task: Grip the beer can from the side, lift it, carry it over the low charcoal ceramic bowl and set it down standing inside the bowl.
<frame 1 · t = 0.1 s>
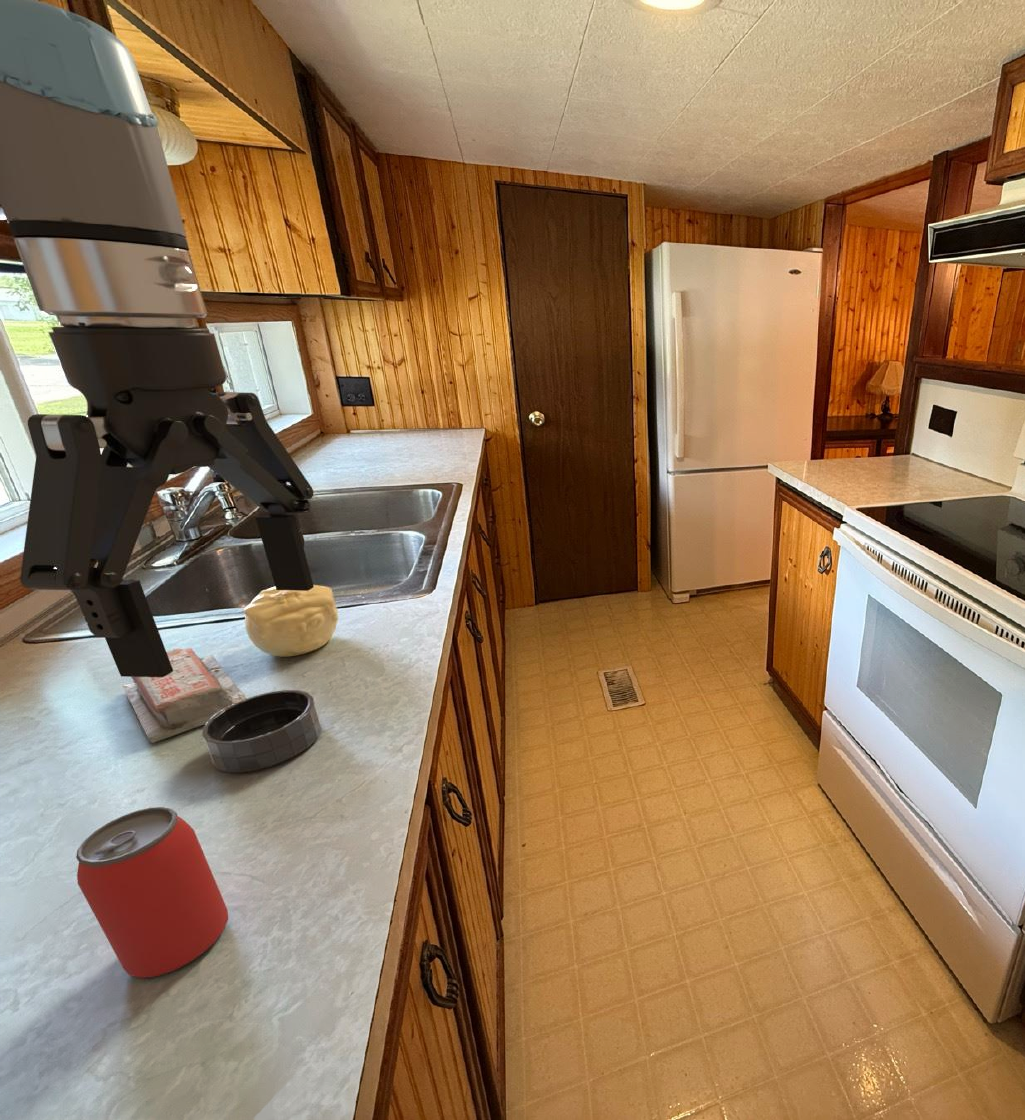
hand: (231, 625, 45), 27 cm above the worktop, tool pointing down, fingers open, 13 cm apart
bowl: (270, 745, 73), on the worktop
beer can: (181, 944, 50), on the worktop
packaged product: (187, 702, 82), on the worktop
sculpture: (300, 647, 96), on the worktop
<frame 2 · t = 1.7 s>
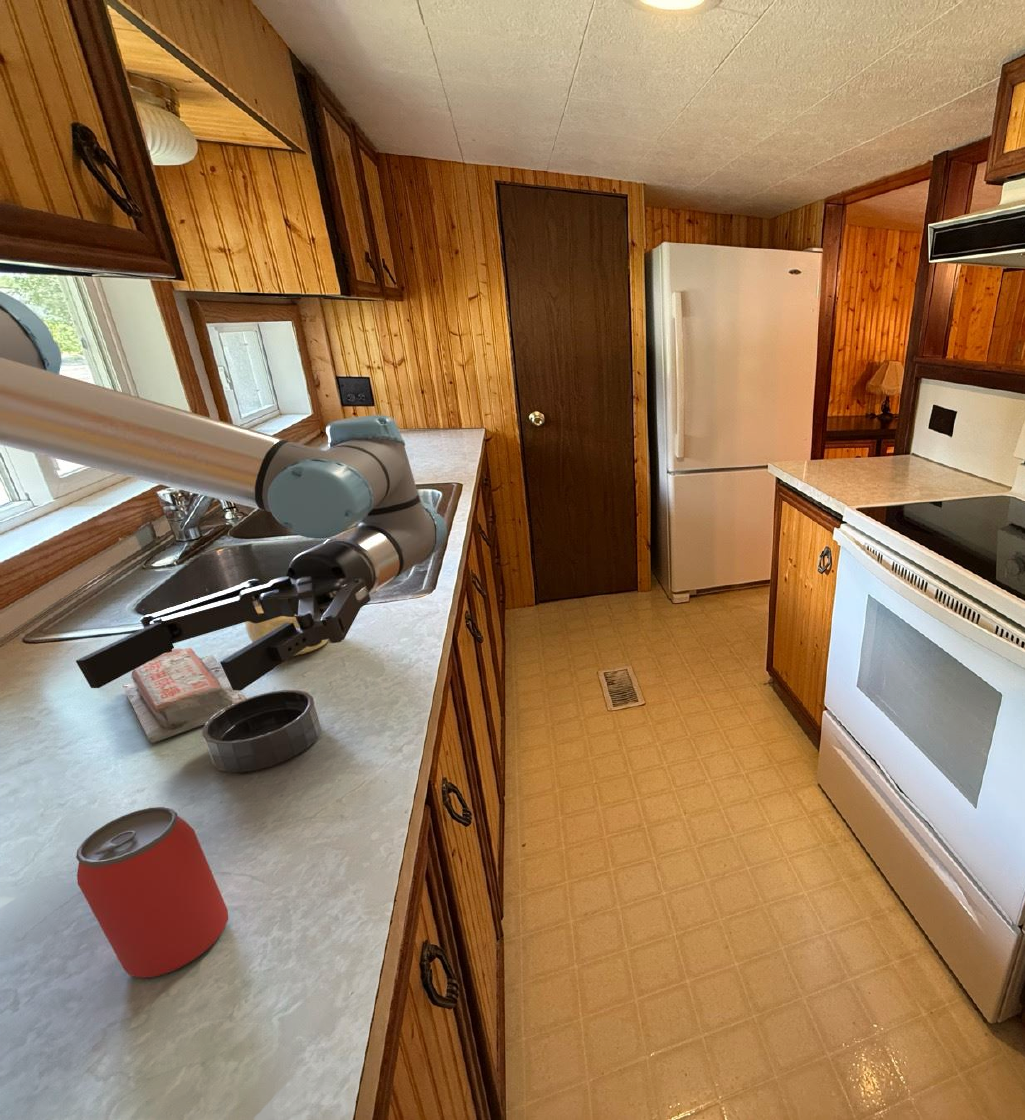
hand: (157, 675, 49), 21 cm above the worktop, tool horizontal, fingers open, 13 cm apart
nothing on the worktop moved.
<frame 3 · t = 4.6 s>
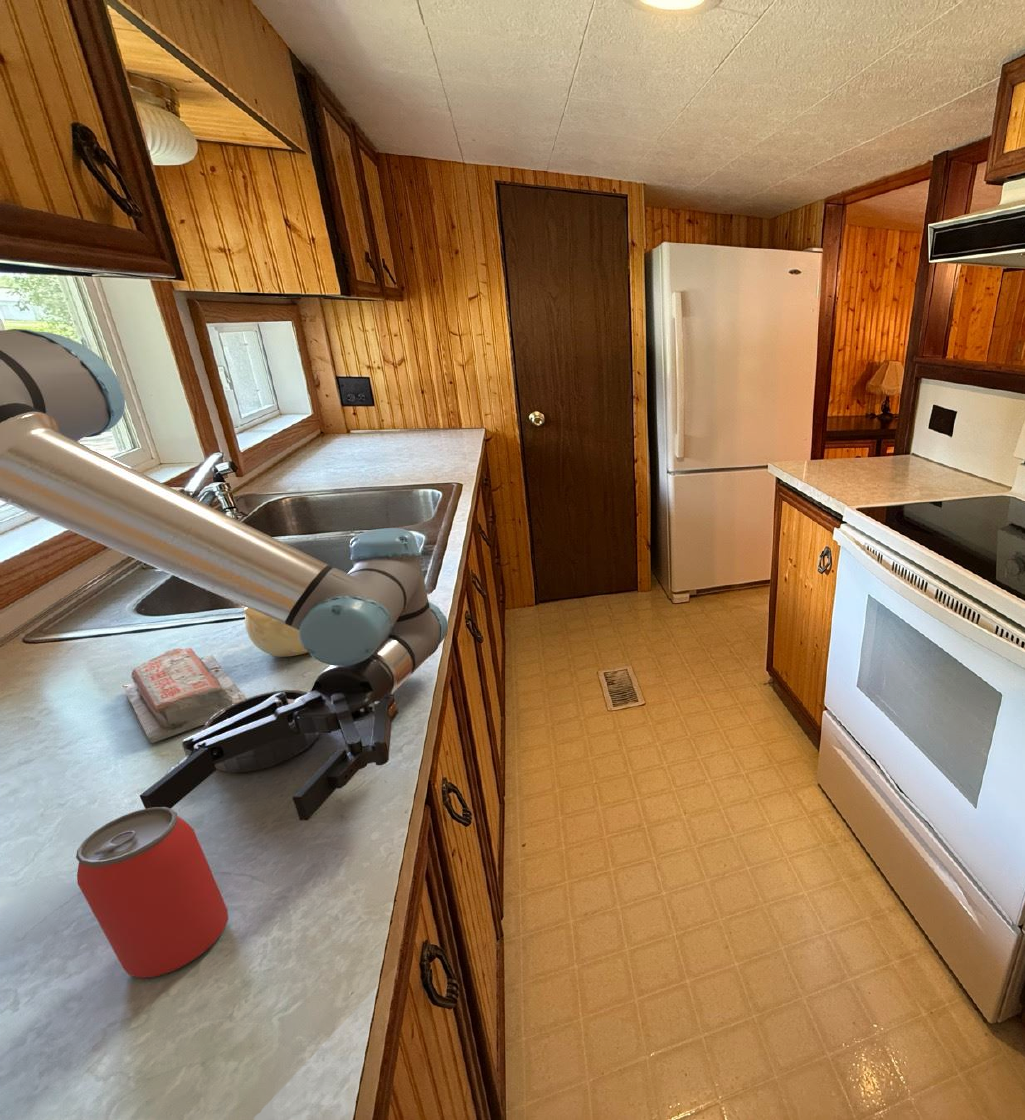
hand: (224, 808, 54), 7 cm above the worktop, tool horizontal, fingers open, 13 cm apart
nothing on the worktop moved.
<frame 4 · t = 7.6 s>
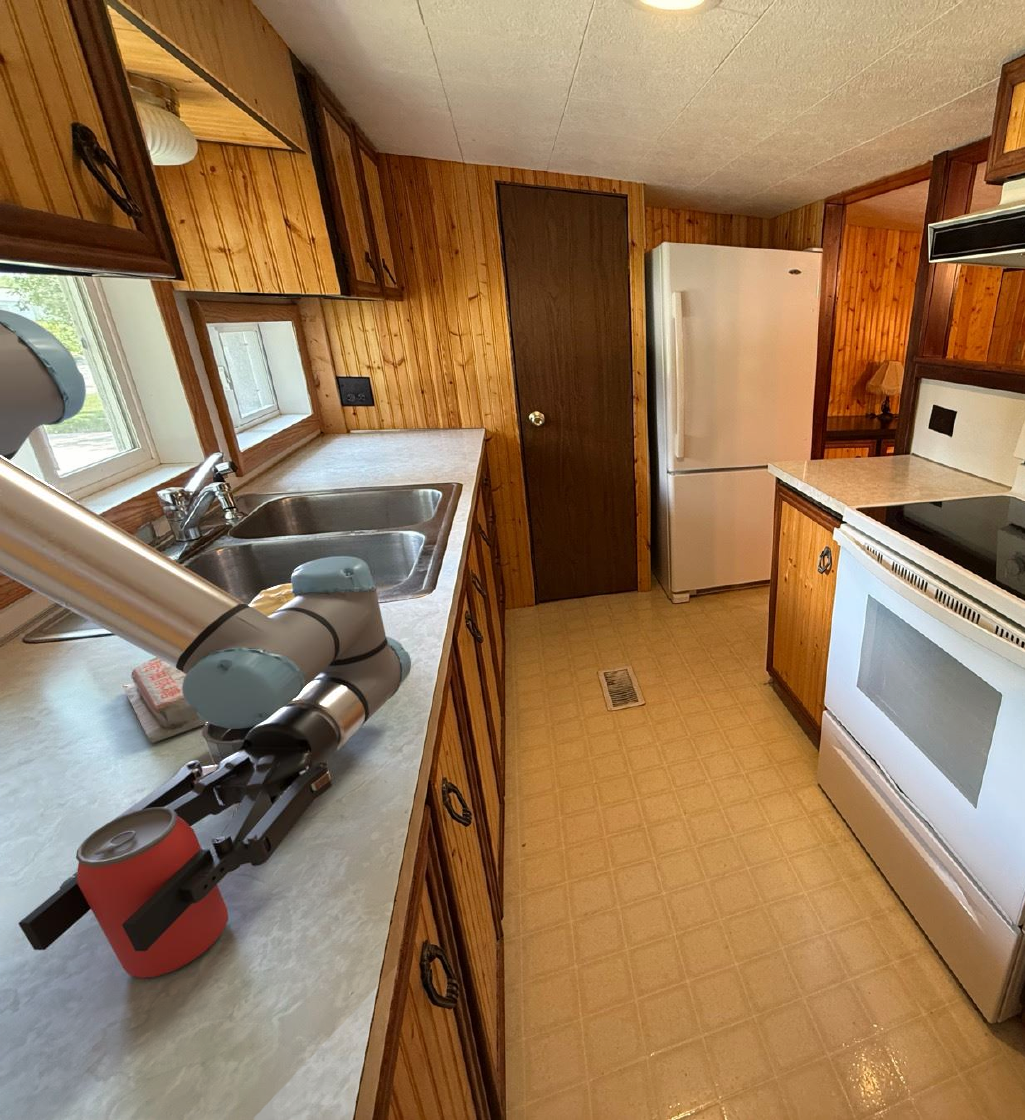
hand: (83, 937, 43), 8 cm above the worktop, tool horizontal, fingers closed on beer can, 7 cm apart
beer can: (181, 944, 50), on the worktop, touching gripper
everything else where it was.
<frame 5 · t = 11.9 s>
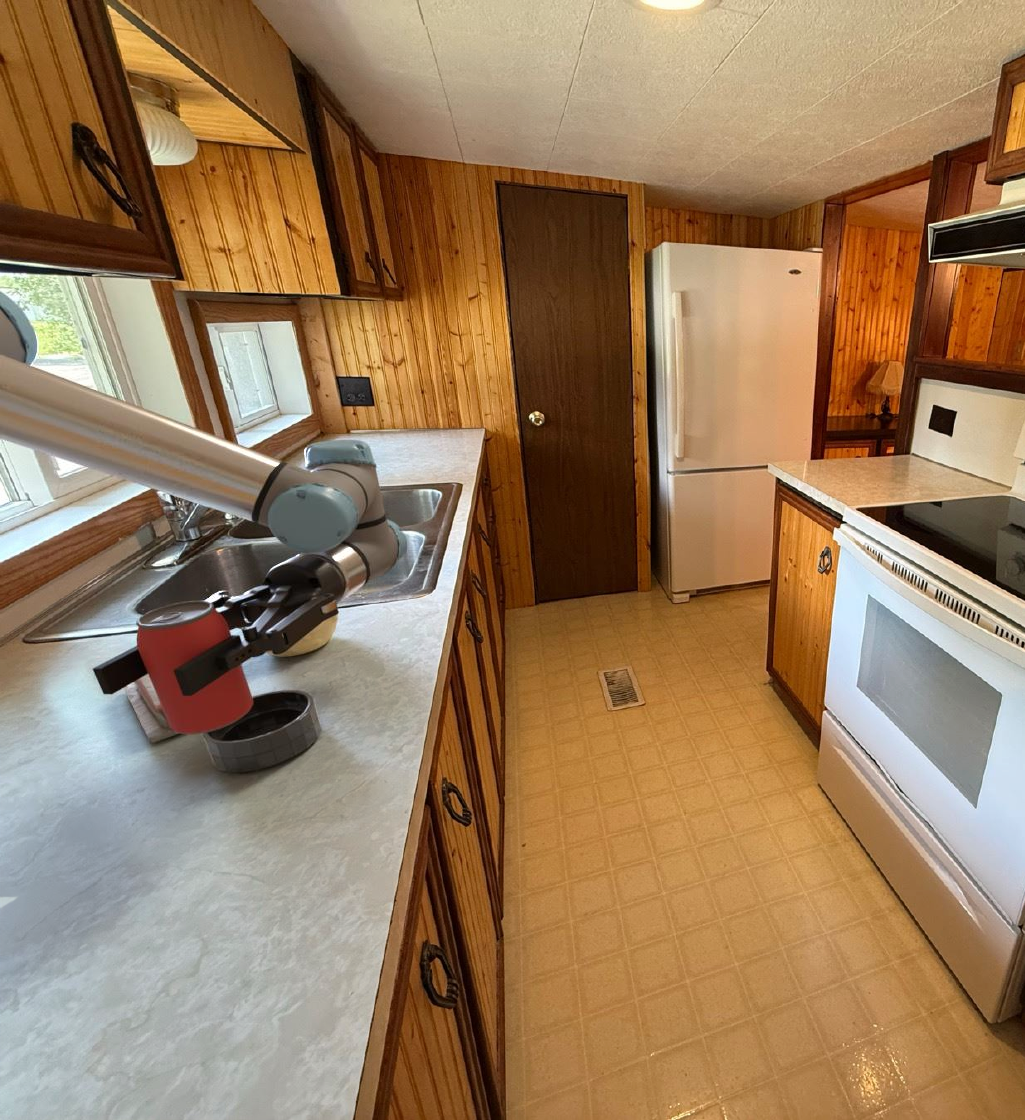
hand: (142, 682, 54), 18 cm above the worktop, tool horizontal, fingers closed on beer can, 7 cm apart
beer can: (215, 719, 62), point 10 cm above the worktop, touching gripper
everything else where it was.
when the fingers open (8 cm above the worktop, at t = 16.3 s): beer can stays where it is, resting on bowl.
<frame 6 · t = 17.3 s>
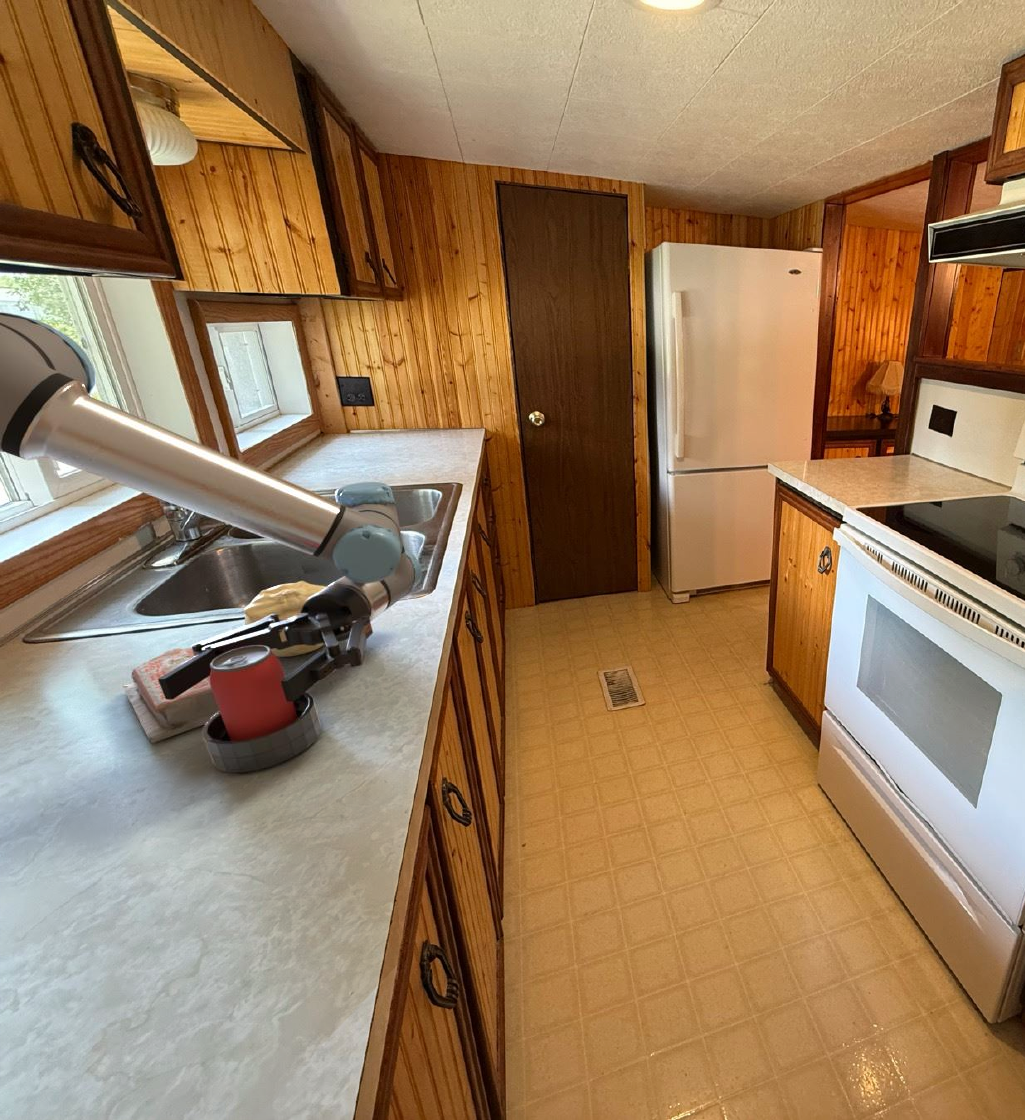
hand: (225, 690, 67), 10 cm above the worktop, tool horizontal, fingers open, 13 cm apart
beer can: (270, 743, 73), resting on bowl
everything else where it was.
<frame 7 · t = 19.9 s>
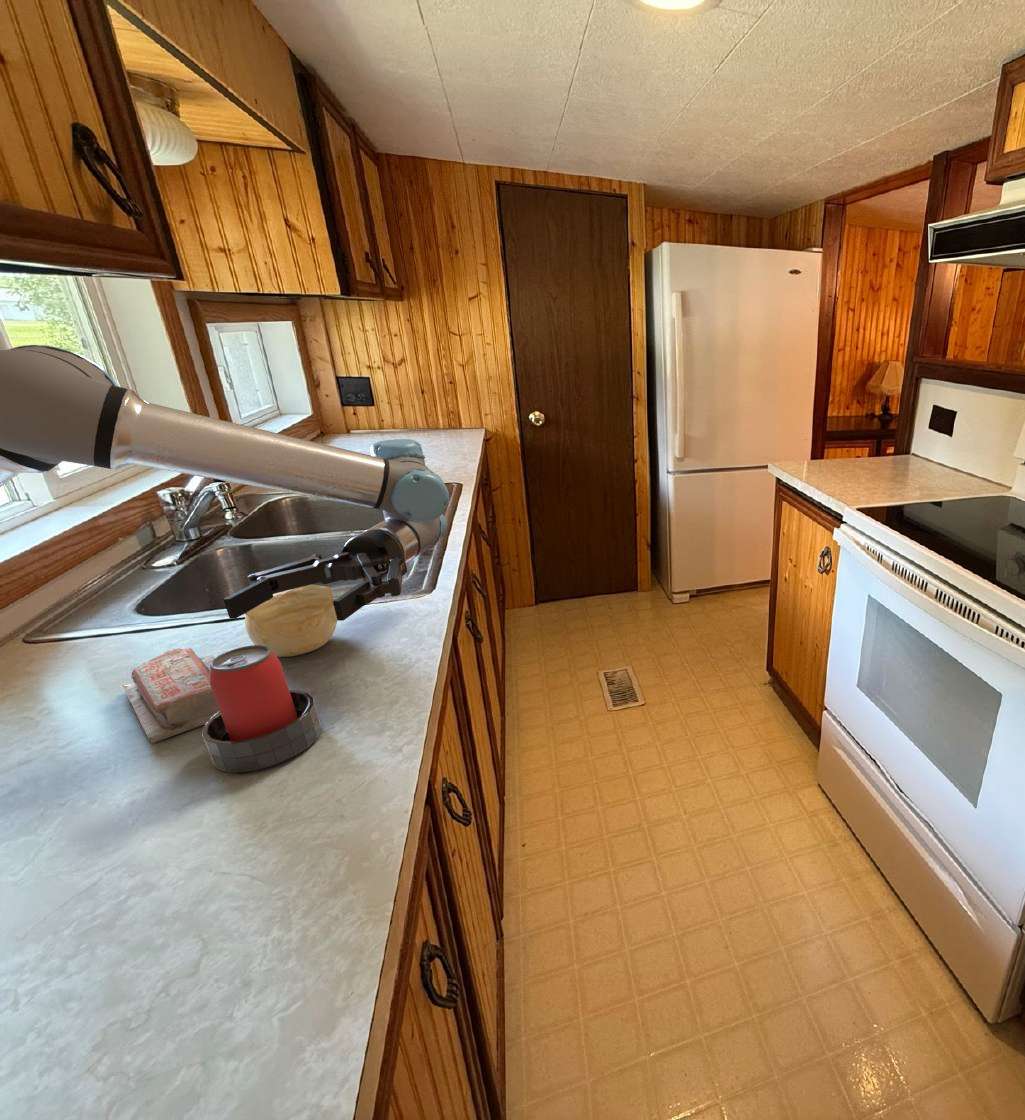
hand: (283, 610, 75), 15 cm above the worktop, tool horizontal, fingers open, 13 cm apart
nothing on the worktop moved.
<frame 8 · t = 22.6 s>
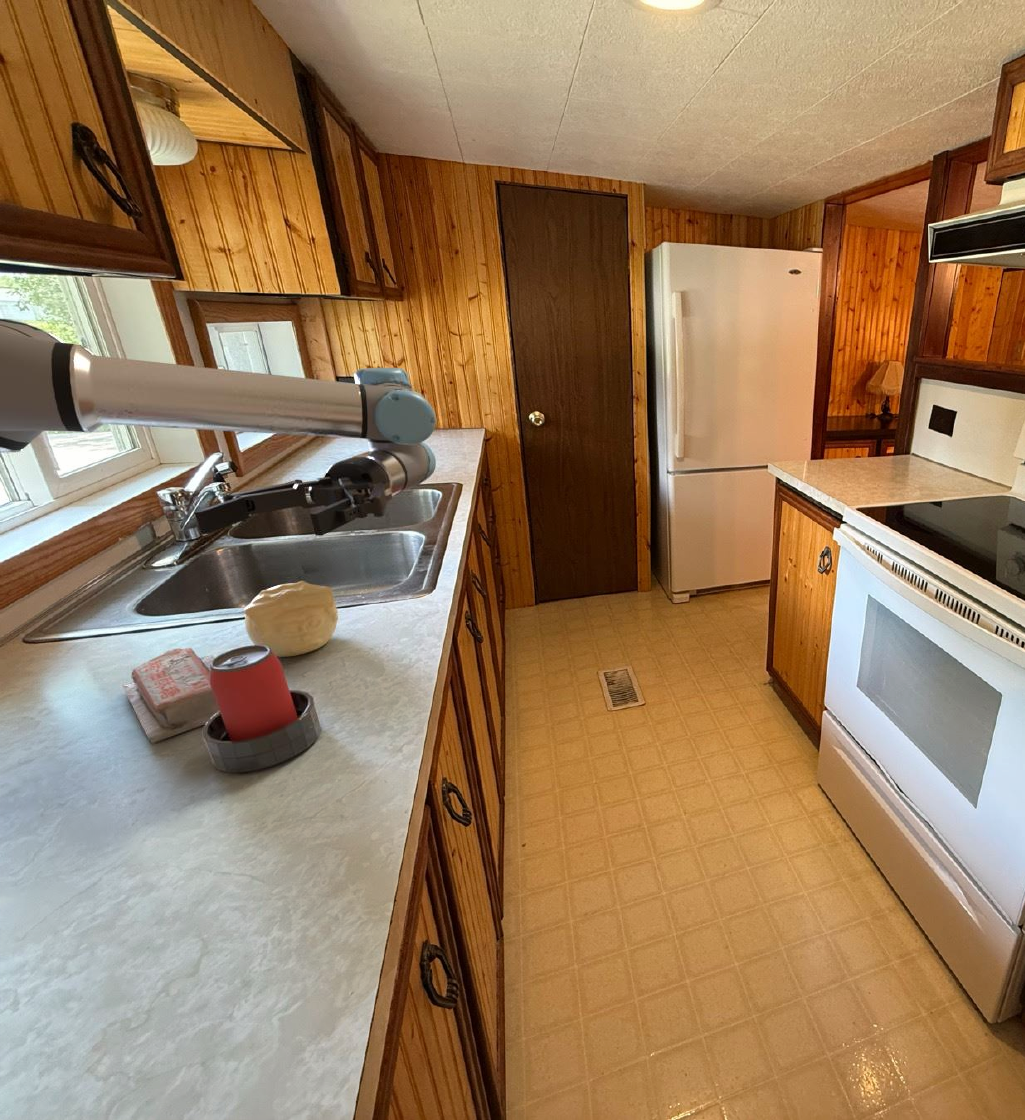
hand: (258, 524, 71), 26 cm above the worktop, tool horizontal, fingers open, 13 cm apart
nothing on the worktop moved.
at the end: beer can 0.0 cm off-centre in the bowl, point 0.3 cm above the bowl's base; beer can tilted 0°; the gripper is holding nothing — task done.
